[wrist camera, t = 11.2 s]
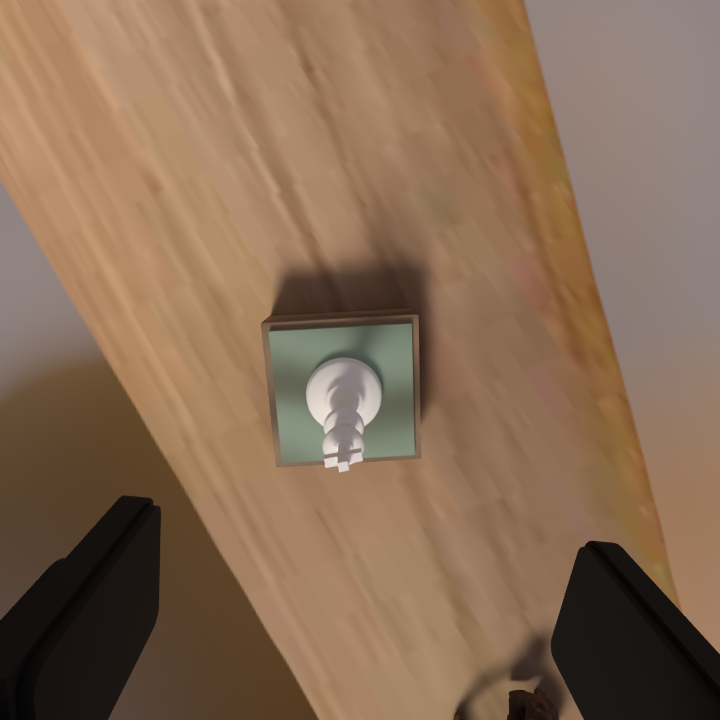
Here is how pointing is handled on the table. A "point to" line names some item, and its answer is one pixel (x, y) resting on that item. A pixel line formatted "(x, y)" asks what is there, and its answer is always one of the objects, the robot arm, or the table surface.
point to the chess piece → (343, 407)
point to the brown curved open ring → (529, 706)
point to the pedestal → (343, 340)
